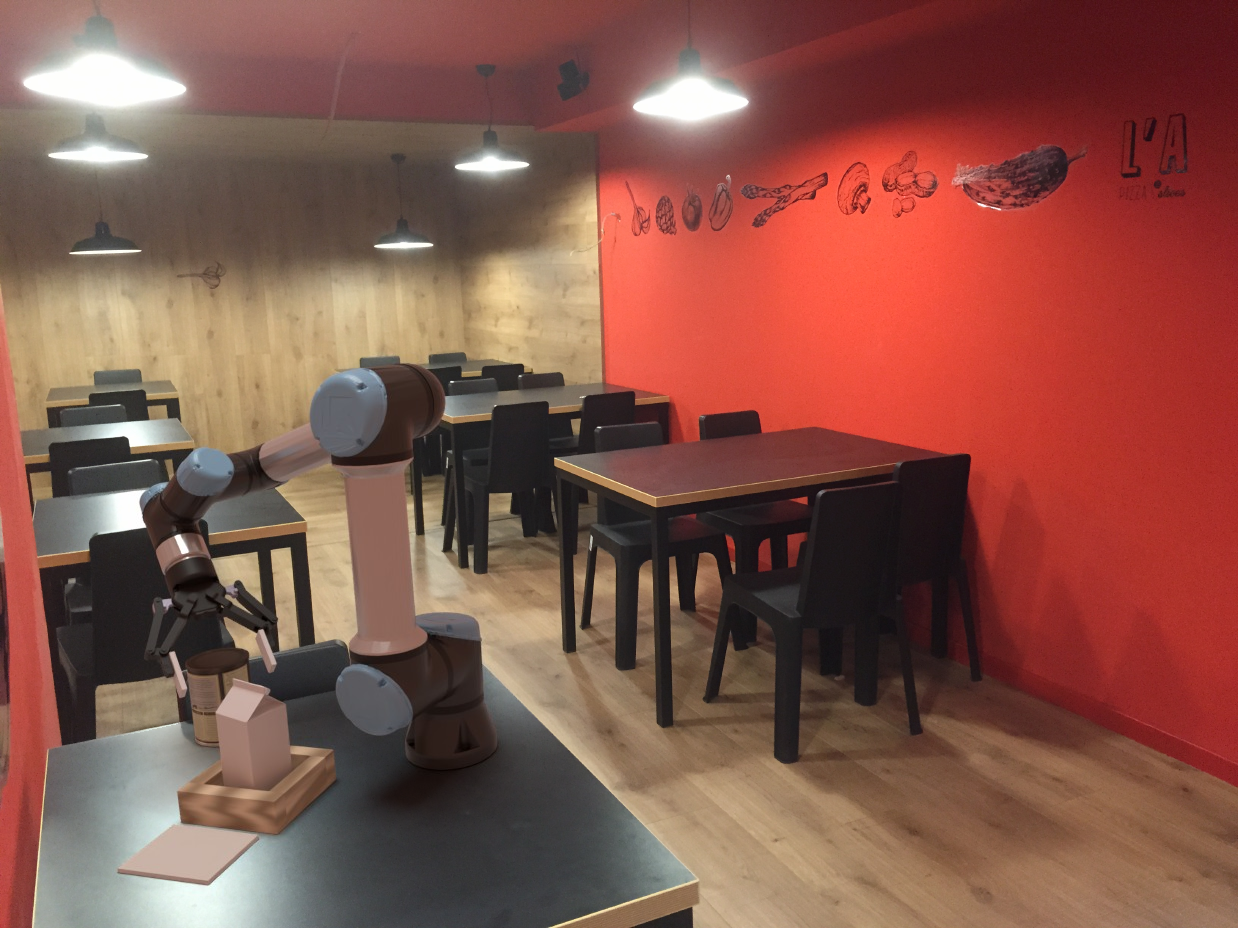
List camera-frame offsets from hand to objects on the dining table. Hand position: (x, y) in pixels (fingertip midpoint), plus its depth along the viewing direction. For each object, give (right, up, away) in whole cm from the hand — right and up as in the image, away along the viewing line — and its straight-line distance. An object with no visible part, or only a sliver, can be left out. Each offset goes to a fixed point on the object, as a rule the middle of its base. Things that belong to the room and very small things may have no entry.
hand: (229, 680), depth 149 cm
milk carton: (+6, -18, -3) cm, 19 cm away
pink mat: (+1, -20, -17) cm, 26 cm away
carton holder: (+6, -18, -3) cm, 19 cm away
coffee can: (-9, -14, +21) cm, 26 cm away
